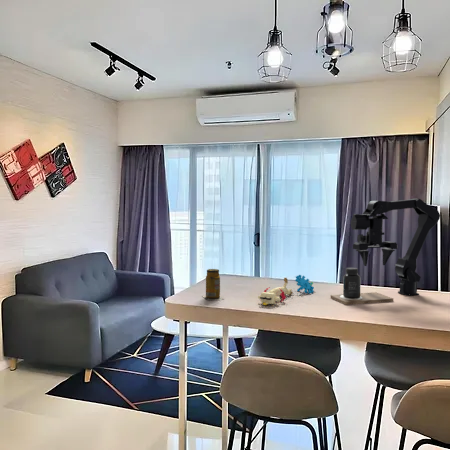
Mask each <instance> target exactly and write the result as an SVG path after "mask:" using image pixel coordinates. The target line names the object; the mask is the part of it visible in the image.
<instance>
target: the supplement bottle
mask: <svg viewBox="0 0 450 450" xmlns="http://www.w3.org/2000/svg"><path fill="white" fill-rule="evenodd" d="M342 278H343V281H342V282H343V284H342V285H343V287H342V288H343V289H342V291H343V296H344V297H345V298H351V299H357V298H360V293H361V285H362V283H361V276H360V275H359V268H357V267H346V268H345V274H344V275H343V277H342Z"/></svg>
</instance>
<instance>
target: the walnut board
mask: <svg viewBox="0 0 450 450" xmlns="http://www.w3.org/2000/svg"><path fill="white" fill-rule="evenodd" d="M330 299H331V300H334V301H336V302H338V303H340V304H342V305H345V306H348V305H362V304H363V305H364V304H377V303H378V304H379V303H389V302H390V303H392V302H394V298H392V297H391V296H388V295H385V294H382V293H379V292H376V291H375V292H373V291H372V292H360V298H357V299H351V298H345V297H344V296H343V294H342V293H341V294H331V295H330Z"/></svg>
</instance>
